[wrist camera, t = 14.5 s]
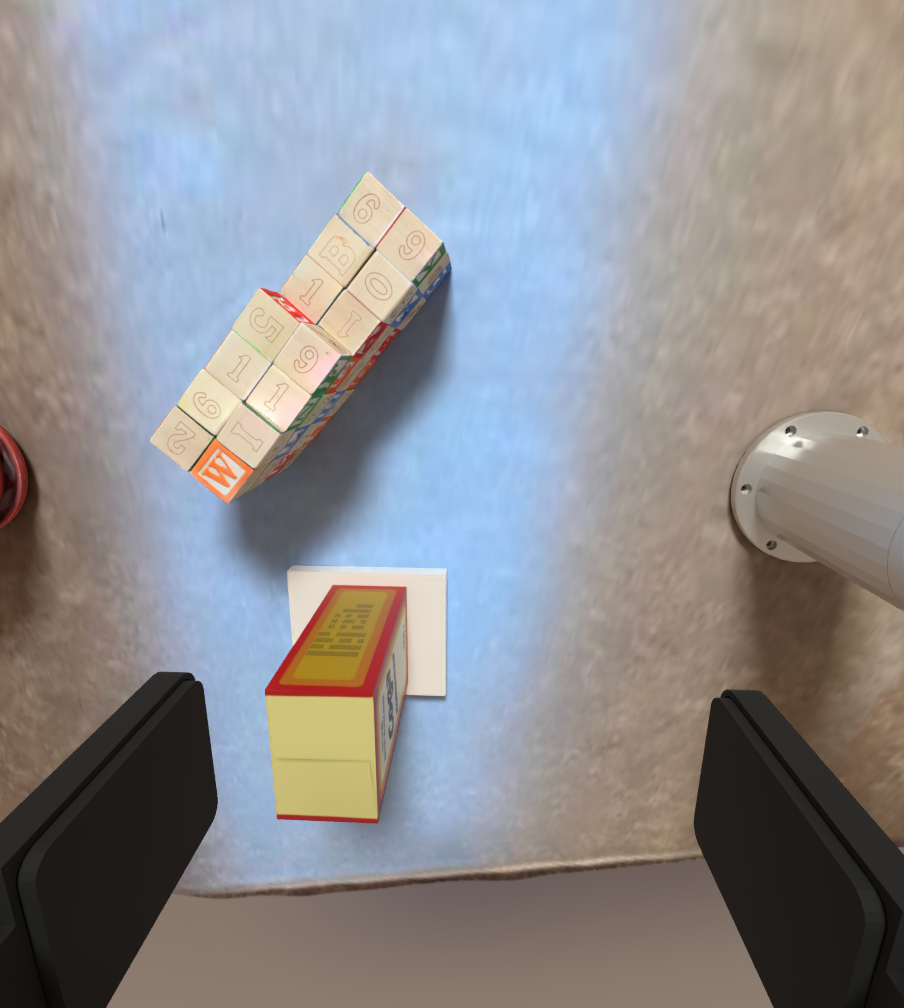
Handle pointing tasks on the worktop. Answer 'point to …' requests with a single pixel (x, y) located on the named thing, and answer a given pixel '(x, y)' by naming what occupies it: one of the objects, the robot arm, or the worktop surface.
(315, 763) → the baking soda box
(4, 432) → the plant pot
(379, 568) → the cutting board
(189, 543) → the worktop surface
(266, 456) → the stack of blocks
